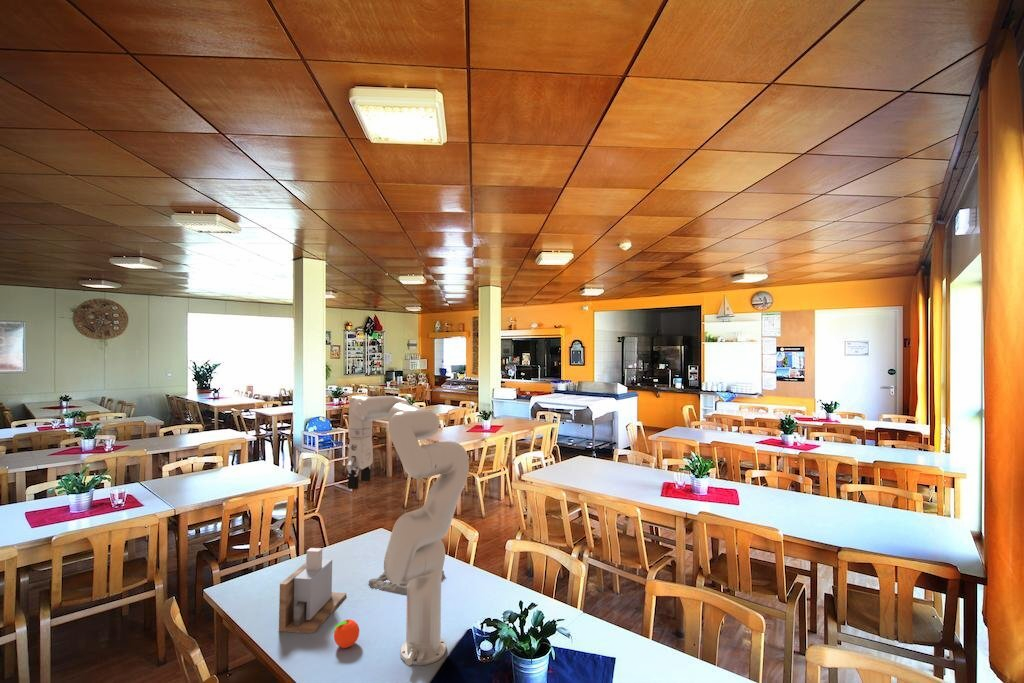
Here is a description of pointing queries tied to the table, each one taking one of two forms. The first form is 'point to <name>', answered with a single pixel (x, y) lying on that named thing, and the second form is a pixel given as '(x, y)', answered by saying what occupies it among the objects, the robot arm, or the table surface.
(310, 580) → the white box with handle
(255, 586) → the table surface
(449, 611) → the table surface
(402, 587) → the wall plaque
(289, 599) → the wooden stand
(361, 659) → the table surface
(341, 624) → the clementine
